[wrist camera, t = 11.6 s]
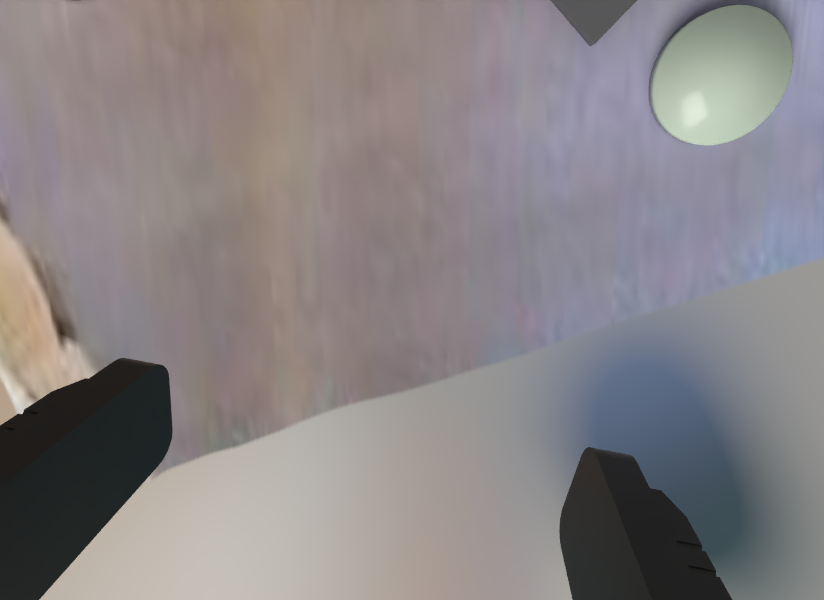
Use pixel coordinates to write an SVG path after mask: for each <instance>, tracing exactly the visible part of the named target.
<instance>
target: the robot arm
mask: <svg viewBox="0 0 824 600" xmlns="http://www.w3.org/2000/svg"><path fill="white" fill-rule="evenodd" d="M72 1H79V0H72ZM171 439H172V415H171V400H170V385H169V374H168V371H167V369H166V368H165V367H164V366H163V365H159V364H153V363H148V362H143V361H138V360H132V359H127V358H120V359H117V360H116V361H114V362H112V363H111V364H110V365H108V366H107V367H105V368H104V369H102V370H101V371H99V372H98V373H96V374H95V375H94V376H92V377H91V378H89V379H83V380H80V381H78V382H75V383H73V384H70V385H68V386H65V387H63V388H60V389H57V390H55V391H52V392H51V393H49V394H48V395H46V396H45V397H43V398H42V399H40V400H38V401H37V402H35V403H34V404H32V405H31V406H29V407H28V408H26V409H25V410H24V412H23V414H17V415H16V416H14V417H13V418H11V419H10V420H8V421H7V422H5V423H4V424H2V425H0V600H39V599H40V598H41V597H42V596H43V595H44V594H45V592H46V591H47V590H48V589H49V588H50V587H51V586H52V585H53V583H54V582H55V581H56V580H57V579H58V578H59V577H60V576H61V574H62V573H63V572H64V571H65V570H66V569H67V568H68V567H69V565H70V564H71V563H72V562H73V561H74V560H75V559H76V558H77V556H78V555H79V554H80V553H81V552H82V551H83V550H84V549H85V547H86V546H87V545H88V544H89V543H90V542H91V541H92V540H93V538H94V537H95V536H96V535H97V534H98V533H99V532H100V531H101V529H102V528H103V527H104V526H105V525H106V524H107V523H108V522H109V520H110V519H111V518H112V517H113V516H114V515H115V514H116V512H117V511H118V510H119V509H120V508H121V507H122V506H123V505H124V504H125V502H126V501H127V500H128V499H129V498H130V497H131V496H132V495H133V493H134V492H135V491H136V490H137V489H138V488H139V487H140V486H141V485H142V483H143V482H144V481H145V480H146V479H147V478H148V477H149V476H150V474H151V473H152V472H153V471H154V470H155V469H156V468H157V467H158V465H159V464H160V463H161V462H162V460H163V459H164V457H165V455H166V453H167V451H168V449H169V446H170V443H171ZM560 543H561V549H562V553H563V558H564V563H565V567H566V572H567V576H568V581H569V585H570V590H571V594H572V599H573V600H732V599H731V597H730V595H729V593H728V592H727V590H726V588H725V586H724V584H723V582H722V581H721V579H720V577H716V570H715V568H714V566H713V564H712V563H711V561H710V559H709V557H708V555H707V553H706V552H705V551H702V544H701V543H700V541H699V539H698V537H697V535H696V533H695V532H694V530H693V528H692V526H691V524H690V523H689V521H688V519H687V517H686V516H685V515H684V514H683V513H682V512H681V511H680V510H679V509H678V508H677V507H676V506H675V505H674V504H673V502H672V501H671V500H670V499H669V498H668V497H667V496H666V495H665V494H664V493H663V492H662V491H661V490H656V489H651V488H649V486H648V484H647V482H646V480H645V478H644V476H643V474H642V472H641V470H640V468H639V466H638V463H637V462H636V460H635V458H634V457H633V456H631V455H627V454H622V453H617V452H611V451H606V450H601V449H596V448H591V447H588V448H586V449H585V450H584V452H583V454H582V456H581V458H580V461H579V464H578V467H577V469H576V472H575V475H574V478H573V481H572V484H571V486H570V489H569V492H568V494H567V497H566V500H565V503H564V506H563V509H562V513H561V518H560Z"/></svg>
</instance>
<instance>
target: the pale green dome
mask: <svg viewBox="0 0 824 600" xmlns="http://www.w3.org/2000/svg"><path fill="white" fill-rule="evenodd" d="M792 62H793V57H792V47H791V42H790V39H789V37H788V34H787V32H786V30H785V28H784V27H783V26H782V24H781V23H780V22H779V20H777V19H776V18H775V17H774V16H773V15H772V14H770V13H768V12H767V11H765V10H763V9H760V8H757V7H753V6H749V5H730V6H725V7H721V8H718V9H715V10H712V11H710V12H707V13H705V14H703V15H701V16H699V17H697V18H695V19H693V20H692V21H690V22H688V23H687V24H685V25H684V26H683V27H682V28H681V29H679V30H678V31H677V32H676V33H675V34H674V35H673V36H672V37H671V38H670V39H669V41H668V42H667V43H666V44H665V46H664V47H663V49H662V50H661V52H660V54H659V56H658V58H657V60H656V62H655V64H654V67H653V70H652V73H651V77H650V83H649V101H650V106H651V110H652V113H653V115H654V117H655V119H656V121H657V122H658V124H659V125H660V127H661V128H662V129H663V130H664V131H665V132H666V133H668V134H669V135H670V136H672V137H674V138H675V139H677V140H680V141H682V142H686V143H690V144H699V145H716V144H722V143H726V142H729V141H732V140H735V139H737V138H739V137H741V136H743V135H745V134H747V133H749V132H750V131H752V130H753V129H754V128H756V127H757V126H758V125H759V124H761V123H762V122H763V121H764V120H765V119H766V118H767V117H768V116H769V115H770V114H771V113H772V111H773V110H774V109H775V107H776V106H777V105H778V103H779V101H780V100H781V98H782V96H783V94H784V92H785V90H786V88H787V85H788V82H789V79H790V75H791V71H792Z"/></svg>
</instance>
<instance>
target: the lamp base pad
mask: <svg viewBox="0 0 824 600" xmlns="http://www.w3.org/2000/svg"><path fill="white" fill-rule="evenodd" d="M551 1H552V2H553V3H554V5H555V6H556V7H557V8H558V9H559V10H560V12H561V13H562V14H563V15H564V16H565V17H566V19H567V20H568V21H569V22H570V23H571V24H572V26H573V27H574V28H575V29H576V30H577V31H578V33H579V34H580V35H581V36H582V37H583V38H584V40H585V41H586V42H587V43H588V44H589V46H592V45H593V44H595V43H596V42H597V41H598V40H599V39H600V38H601V37H602V36H603V35H604V34H605V33H606V32H607V31H608V30H609V29H610V28H611V27H612V26H613V25H614V24H615V23H616V22H617V21H618V19H619V18H620V17H621V16H622V15H623V14H624V13H625V12H626V11H627V10H628V9H629V8H630V7H631V6H632V5H633V4H634V3H635V2H636V1H637V0H551Z"/></svg>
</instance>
